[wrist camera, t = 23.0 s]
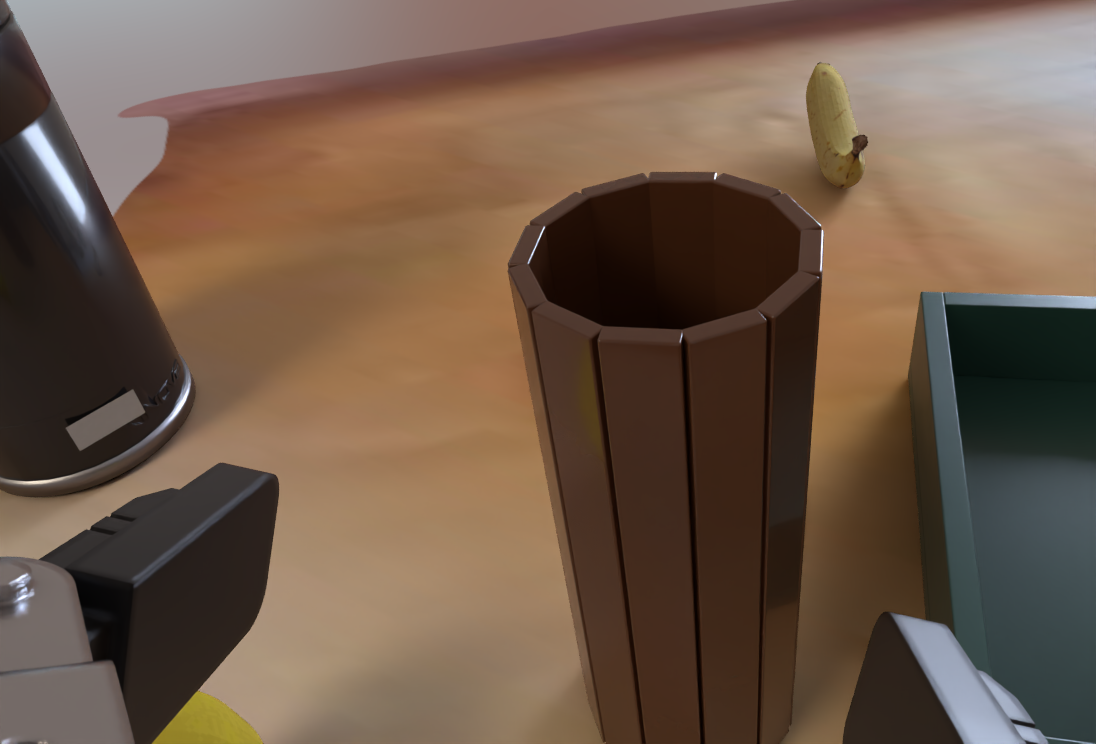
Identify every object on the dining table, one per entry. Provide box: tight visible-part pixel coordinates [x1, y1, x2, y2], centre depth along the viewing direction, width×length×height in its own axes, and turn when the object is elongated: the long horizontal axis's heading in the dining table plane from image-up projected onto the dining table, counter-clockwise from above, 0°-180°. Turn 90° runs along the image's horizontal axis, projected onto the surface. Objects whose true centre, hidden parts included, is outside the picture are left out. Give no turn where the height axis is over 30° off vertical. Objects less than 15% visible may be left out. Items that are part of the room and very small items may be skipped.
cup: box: [508, 172, 824, 744], centre depth 24 cm, size 6×6×16 cm
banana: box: [806, 63, 868, 188], centre depth 51 cm, size 10×2×4 cm, turn 177°
